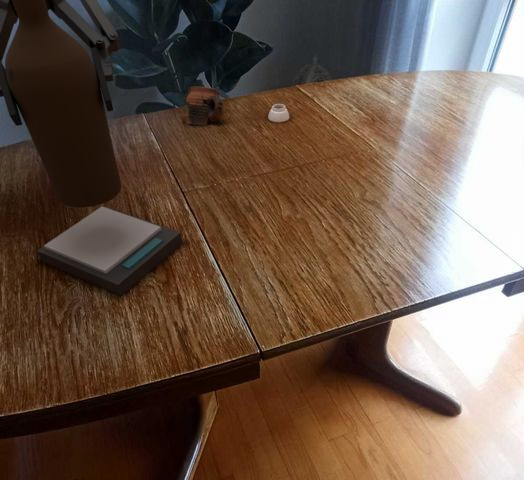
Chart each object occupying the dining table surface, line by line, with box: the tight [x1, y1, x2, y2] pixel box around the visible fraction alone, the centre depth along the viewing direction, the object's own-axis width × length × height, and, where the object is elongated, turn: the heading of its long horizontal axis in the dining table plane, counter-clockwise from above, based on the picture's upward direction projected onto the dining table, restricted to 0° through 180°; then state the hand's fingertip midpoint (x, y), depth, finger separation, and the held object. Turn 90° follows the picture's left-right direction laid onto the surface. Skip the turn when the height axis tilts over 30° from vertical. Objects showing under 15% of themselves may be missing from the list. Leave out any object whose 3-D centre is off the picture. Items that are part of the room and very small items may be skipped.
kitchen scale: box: [36, 205, 184, 297], centre depth 75 cm, size 17×15×3 cm
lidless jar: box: [267, 103, 290, 123], centre depth 109 cm, size 5×3×5 cm
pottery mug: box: [182, 85, 224, 127], centre depth 109 cm, size 12×10×8 cm
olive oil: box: [4, 0, 122, 209], centre depth 59 cm, size 11×11×25 cm
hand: (63, 113), depth 58 cm, fingers closed on olive oil, 11 cm apart
